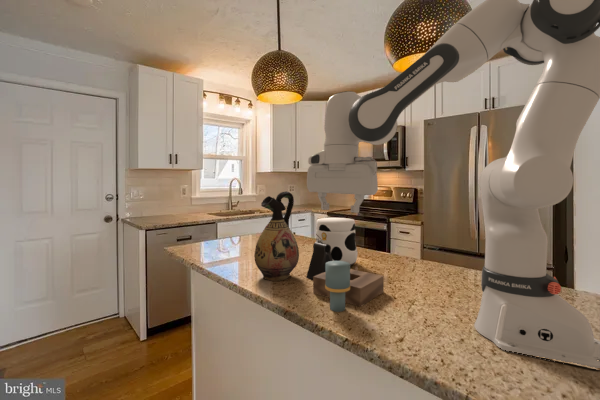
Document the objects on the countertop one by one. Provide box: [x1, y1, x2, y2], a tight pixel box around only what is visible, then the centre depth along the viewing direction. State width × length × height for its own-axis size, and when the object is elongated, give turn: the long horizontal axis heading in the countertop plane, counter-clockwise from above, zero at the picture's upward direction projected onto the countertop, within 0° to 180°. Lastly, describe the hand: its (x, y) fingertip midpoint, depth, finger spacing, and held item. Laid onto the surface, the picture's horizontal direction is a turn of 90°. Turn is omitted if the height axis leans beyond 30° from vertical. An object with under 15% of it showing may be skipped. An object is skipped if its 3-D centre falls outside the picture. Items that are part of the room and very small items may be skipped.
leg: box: [325, 261, 351, 313], centre depth 83 cm, size 6×6×12 cm
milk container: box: [315, 217, 358, 267], centre depth 126 cm, size 17×17×18 cm
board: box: [312, 268, 385, 307], centre depth 95 cm, size 16×14×5 cm
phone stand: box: [306, 241, 333, 281], centre depth 110 cm, size 9×6×12 cm, turn 126°
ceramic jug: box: [253, 191, 300, 282], centre depth 110 cm, size 17×15×30 cm
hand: (339, 211), depth 82 cm, fingers open, 8 cm apart
